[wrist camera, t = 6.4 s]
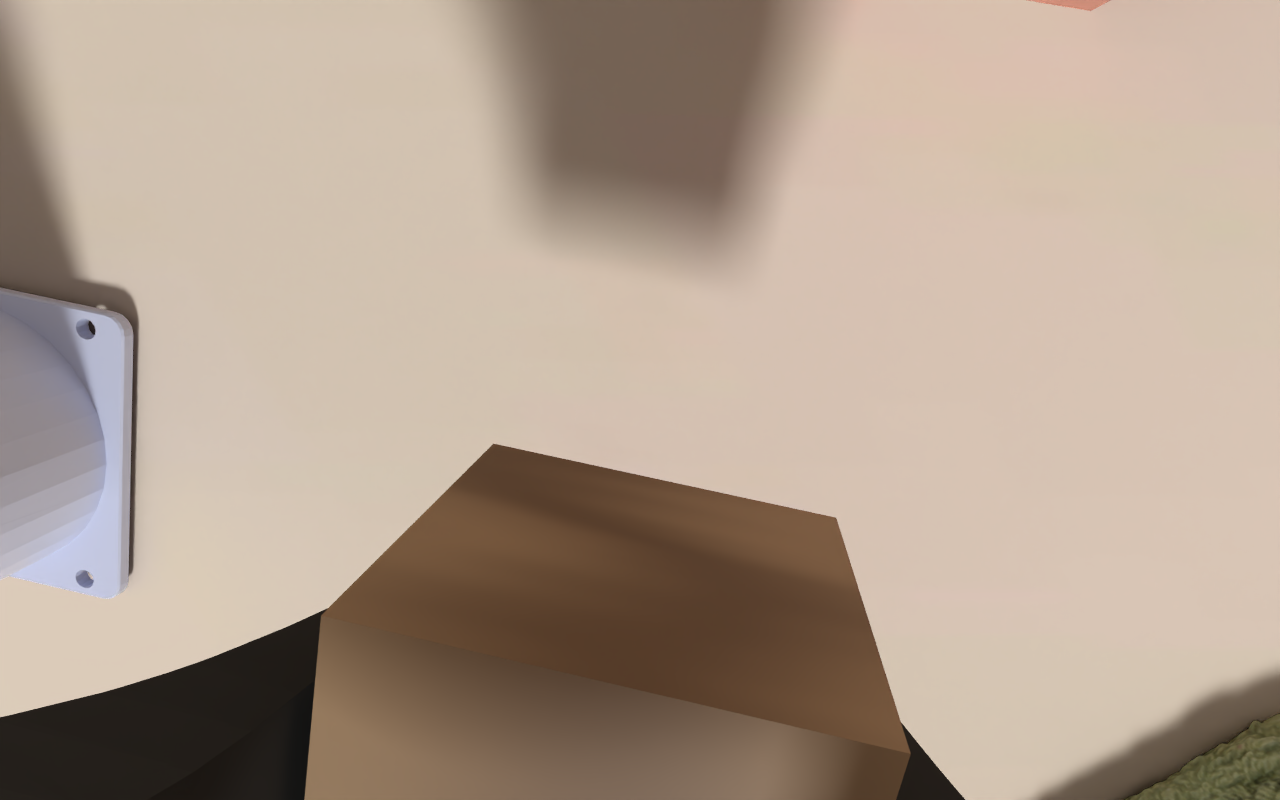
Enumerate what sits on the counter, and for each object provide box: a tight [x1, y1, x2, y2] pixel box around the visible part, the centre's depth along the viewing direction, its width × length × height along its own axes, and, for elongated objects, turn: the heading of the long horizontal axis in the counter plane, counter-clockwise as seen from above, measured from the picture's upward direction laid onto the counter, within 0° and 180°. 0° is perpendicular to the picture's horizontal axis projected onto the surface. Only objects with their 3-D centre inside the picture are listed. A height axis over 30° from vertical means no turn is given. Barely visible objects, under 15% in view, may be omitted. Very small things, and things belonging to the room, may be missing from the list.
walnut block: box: [304, 444, 911, 800], centre depth 10 cm, size 5×5×5 cm
